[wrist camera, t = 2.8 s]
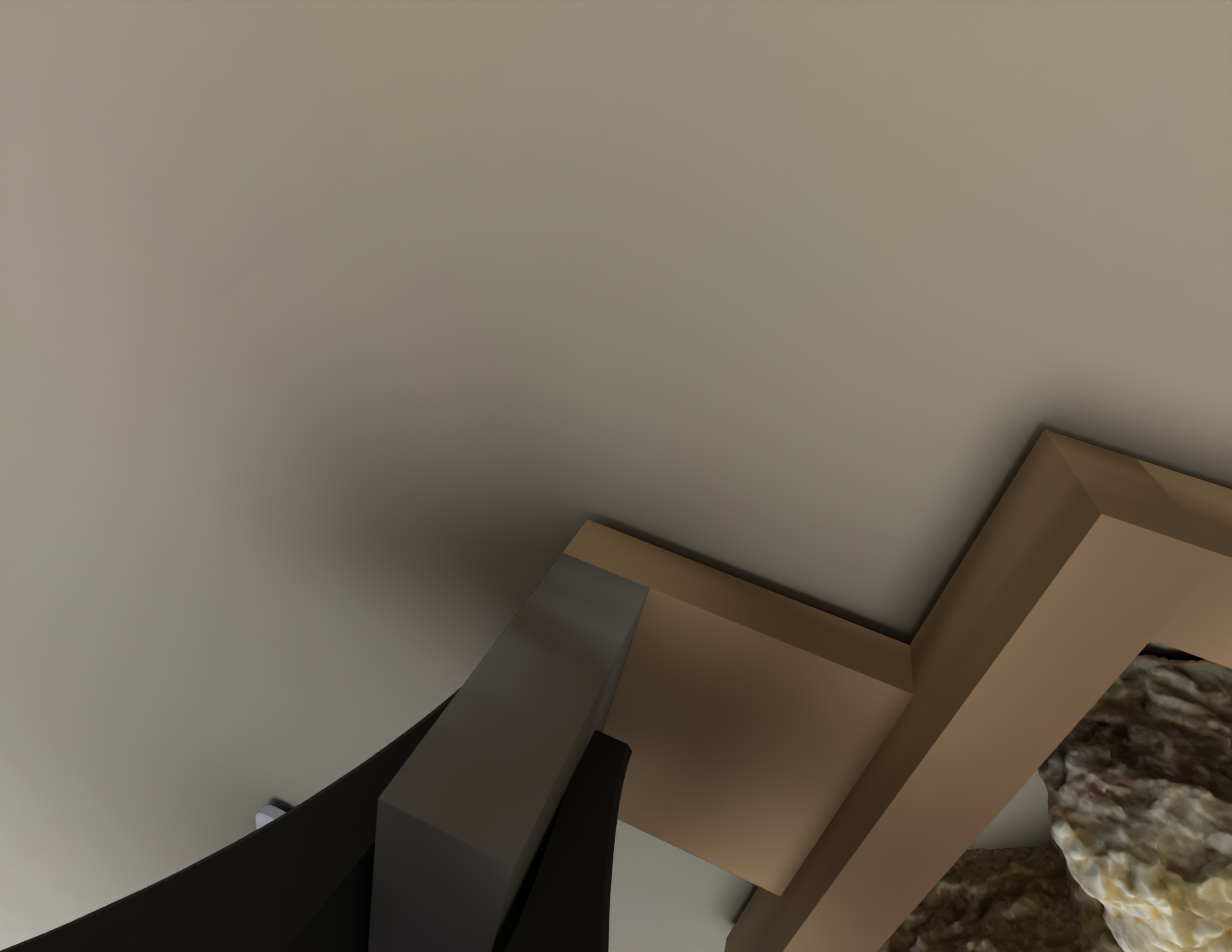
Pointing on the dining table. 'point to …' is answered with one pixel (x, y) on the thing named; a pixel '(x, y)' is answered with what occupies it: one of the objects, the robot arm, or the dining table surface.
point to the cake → (1111, 834)
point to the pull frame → (799, 711)
